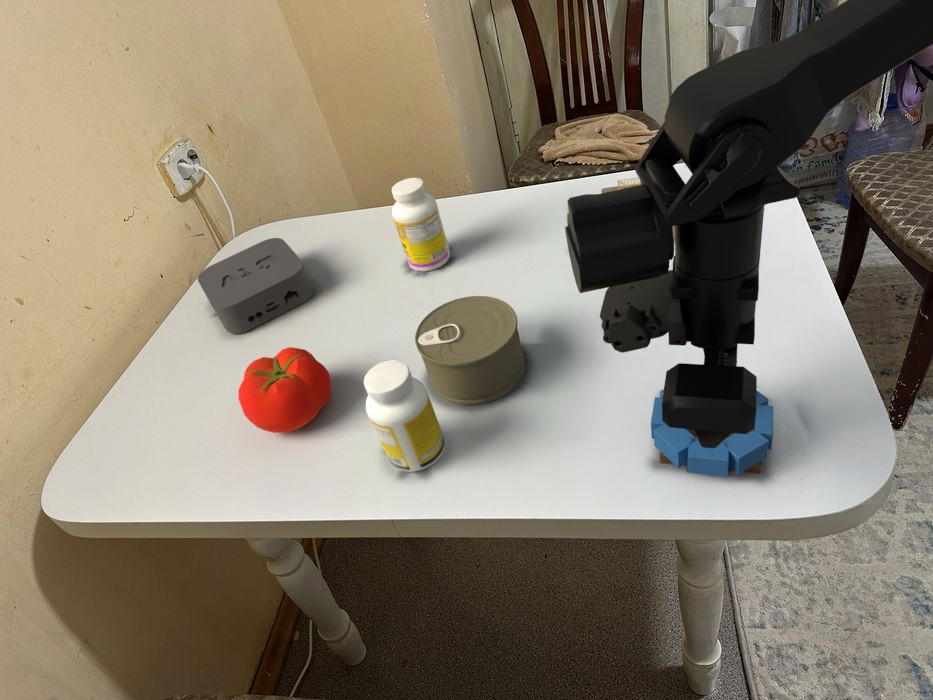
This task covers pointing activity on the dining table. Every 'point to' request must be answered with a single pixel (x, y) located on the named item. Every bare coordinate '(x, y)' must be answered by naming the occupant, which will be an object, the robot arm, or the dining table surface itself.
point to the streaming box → (256, 285)
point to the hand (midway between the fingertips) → (711, 405)
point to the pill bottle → (403, 416)
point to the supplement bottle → (419, 225)
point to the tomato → (284, 390)
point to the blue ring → (729, 453)
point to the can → (471, 349)
